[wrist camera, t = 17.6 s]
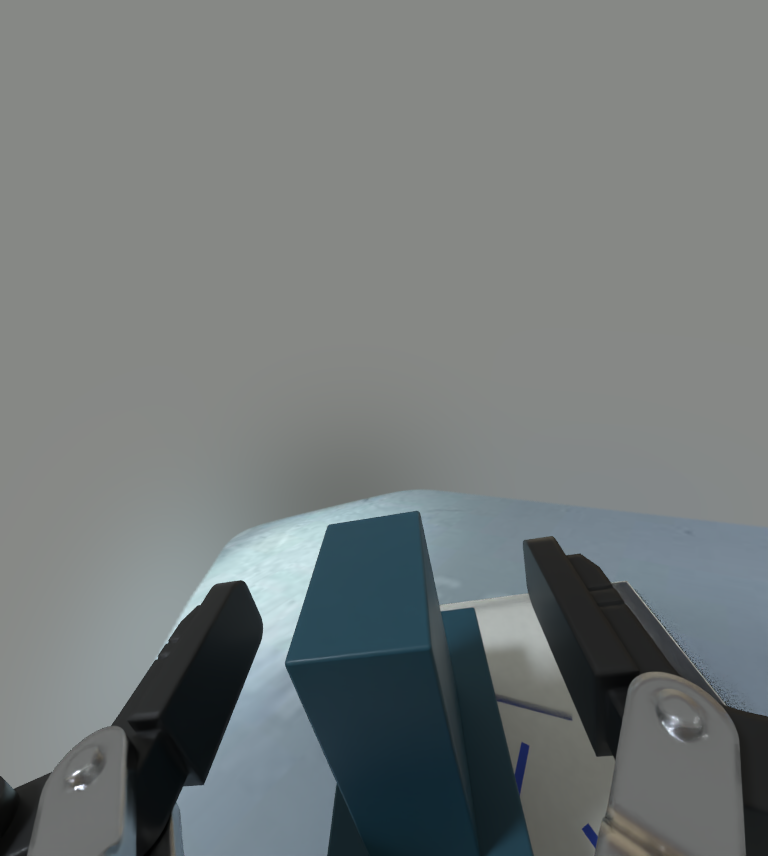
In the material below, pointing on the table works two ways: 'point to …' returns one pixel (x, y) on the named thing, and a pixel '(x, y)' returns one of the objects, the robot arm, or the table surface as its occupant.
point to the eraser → (402, 702)
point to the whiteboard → (555, 721)
